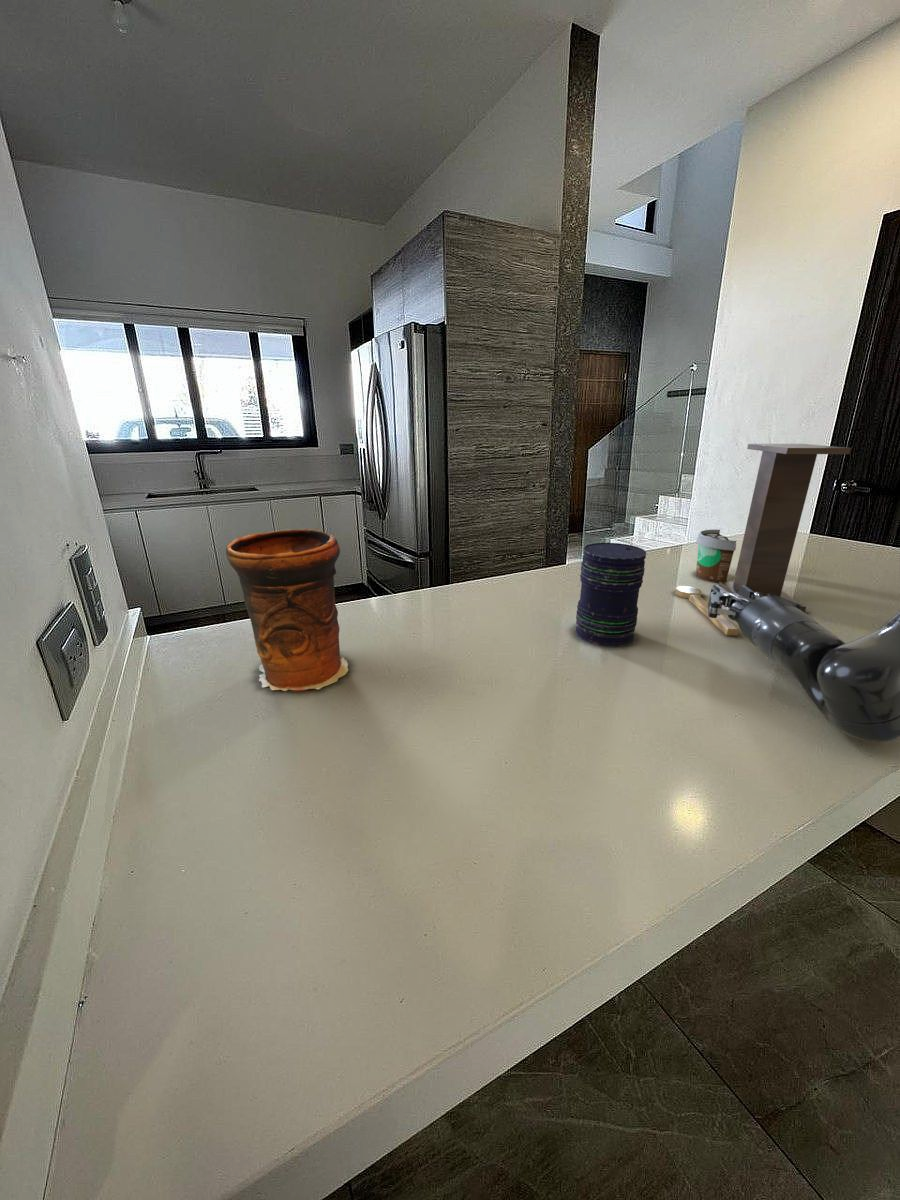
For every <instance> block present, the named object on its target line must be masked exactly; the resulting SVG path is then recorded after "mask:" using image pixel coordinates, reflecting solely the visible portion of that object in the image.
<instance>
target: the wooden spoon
mask: <svg viewBox="0 0 900 1200" xmlns="http://www.w3.org/2000/svg"><path fill="white" fill-rule="evenodd" d="M675 595H676V596H677V597H679V598H683V599H688V600H689V602H691V604H692V605H693V606H695V607H696V608H697V609H698V610H699V611H700V612H701V613H702V614H703V615H704V616H705V617H706V618H708V619H709V621H711V622H712V623H713V624H714V625H715V626H716V627H717V628H718V629H719V630H720V631H721V632H722V633H723V634H725V635H726V636H735V637H736V636H738V634H739V630H740V628H738V627H737V626H735V625H734V623H732V622H731V621H730V620H728V619H727V618H726V617H725V615H723V614H720V616H717V618H711V617H709V616H708V602H709V601H707V600H705V598H704V597H702V589H700V588H698V587H695V586H690V585H679V586H677V587H676V588H675Z"/></svg>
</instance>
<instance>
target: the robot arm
mask: <svg viewBox="0 0 900 1200" xmlns="http://www.w3.org/2000/svg"><path fill="white" fill-rule="evenodd" d="M708 597H709V598H708V601H707V602H708V616H709V617H711V618H717V616H720V614H722V615H723V616H727V617H728V619H730V620H732V621H734V622H736V623H737V625H738V627H739V628H738V629H739V630H740V632H741V634H742V635H743V637H745V639H746V638H747V640H748V641H749V642H750V643H752V645H754V646H755V647H756V648H757V649H758V650H759V651H761V652H762V653H763V654H764V655H765V656H766V657H767V658H769V659H770V660H772V661H774V662H775V663H777V664H778V665H779V666H780V667H781V668H783V670H784V671H786V672H787V673H788V674H789V675H790V676H791V677H793V678H794V679H795V680H797V682H798V684H799V685H800V686H801V688H803V690H804V691H805V693H806V694H807V696H808V697H809V698H810V699H811V701H812V702H813V704H814V705H815V706H816V708H817V709H818V710H819V712H820V713H821V714H822V715H823V717H824V718H825V719H826V720H827V721H828V722H829V723H830V724H831V725H832V726H833V727H835V728H836V729H837V730H838V731H840V732H842V733H844V734H845V735H846V736H849V737H851V738H854V739H856V740H860V741H863V742H870V743H886V742H887V743H888V742H890V741H894V740H896V739H899V738H900V610H899V611H898V612H897V613H895V615H893V616H892V617H891V618H890V619H889V620H887V621H886V622H885V623H884V624H882V626H880V627H879V628H878V629H877V630H875V631H873V632H870V633H868V634H865V635H863V636H861V637H859V638H856V639H854V640H851V641H848V642H845V641H843V640H842V639H841V638H840V637H838V636H837V635H836V634H835V633H833V632H831V631H830V630H828V629H826V627H824V626H822V625H820V623H819V622H818V621H817V620H816V619H814V618H813V617H812V616H811V615H809V614H807V613H806V612H805V613H804V612H803V611H801V608H802V605H800V604H798V603H795V602H793V601H790V600H787V599H785V598H782V597H780V596H777V595H775V594H772V593H768V594H767V596H766V595H763V594H762V593H760V592H754V591H753V590H751V589H750V588H748V587H747V586H740V588H739V592H738V594H737V593H736V594H731V593H729V592H727V591H726V590H725V589H723V588H722V587H721V586H719V584H713V586H711V589H710V592H709V596H708Z"/></svg>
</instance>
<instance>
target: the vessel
mask: <svg viewBox="0 0 900 1200" xmlns="http://www.w3.org/2000/svg"><path fill="white" fill-rule="evenodd" d="M225 554H226V558H227V561H228V563H229V565H230V566H231V568H233V570H234V571H235V572H236V574H237V576H238V579H239V580H238V581H239V583H240V584H239V585H240V587H241V590H242V595H243V601H244V605H245V608H246V611H247V614H248V617H249V620H250V625H251V628H252V632H253V636H254V637H253V638H254V644H255V647H256V653H257V654H258V657H259V658H260V661H261V663H260V664H259V666H258V669H259V671H260V672H261V674H259V675H258V676H259V678H258V681H259V682H261V688H267V687H269V689H270V690H271V691H280V690H281V691H283V692H286V691H288V690H291V691H297V692H299V691H307V690H320V689H321V690H322V688H323V687H327V686H329V685H332V684H334V683H337V682H338V680H339V678H342V677H344V676H345V675H347V673H348V671H349V663H348V661H347V659H345V658H344V656H341V650H340V649H341V647H340V624H339V621H338V617H339V610H338V608H337V605H336V595H335V594H336V591H335V589H336V588H335V575H336V574H337V570H336V562H337V561H338V559H339V558H340V557H339V556H340V555H341V549H340V545H339V542H338V540H337V538H336V537H335V536H334V535H333V534H330V533H328V532H325V531H323V530H320V529H311V528H310V529H309V528H299V529H281V530H280V529H279V530H275V531H274V530H273V531H269V532H260V533H253V534H248V535H245V536H239V537H237V538H235V539H233V540H232V541H231V542H230V543H229V544H228V545H226V548H225Z"/></svg>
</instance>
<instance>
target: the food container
mask: <svg viewBox="0 0 900 1200" xmlns="http://www.w3.org/2000/svg"><path fill="white" fill-rule="evenodd" d="M720 533H721V529H704V530H701V531H700V533H699V534H698V535H697V537H696V539H695V542H696V543H697V544H698V548H697V558H696V568H695V576H696V577H697V578H698V579H701V580H703V581H707V582H711V583H716V584H719V582H727V581H728V576H729V573H730V568H731V564H732V562H733V561H732V560H733V556H734V552H736V549H737V540H731V539H729V538H728V537H727V536H725V535H722V534H720Z"/></svg>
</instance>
